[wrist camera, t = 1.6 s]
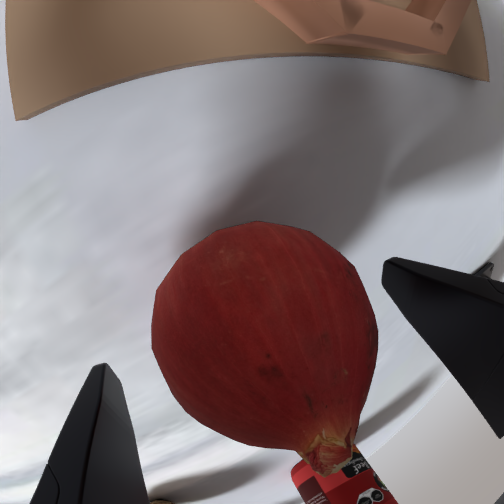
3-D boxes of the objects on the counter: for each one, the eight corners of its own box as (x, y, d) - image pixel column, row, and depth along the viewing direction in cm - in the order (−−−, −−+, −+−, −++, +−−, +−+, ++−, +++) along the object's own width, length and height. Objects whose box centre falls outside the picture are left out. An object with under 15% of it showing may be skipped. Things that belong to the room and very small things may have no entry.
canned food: (356, 442, 28) (402, 505, 19) (302, 476, 28) (342, 540, 19) (342, 432, 24) (399, 511, 15) (276, 472, 24) (323, 552, 15)
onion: (294, 177, 10) (503, 298, 4) (294, 305, 13) (409, 446, 6) (126, 210, 9) (136, 478, 2) (165, 342, 11) (224, 533, 5)
